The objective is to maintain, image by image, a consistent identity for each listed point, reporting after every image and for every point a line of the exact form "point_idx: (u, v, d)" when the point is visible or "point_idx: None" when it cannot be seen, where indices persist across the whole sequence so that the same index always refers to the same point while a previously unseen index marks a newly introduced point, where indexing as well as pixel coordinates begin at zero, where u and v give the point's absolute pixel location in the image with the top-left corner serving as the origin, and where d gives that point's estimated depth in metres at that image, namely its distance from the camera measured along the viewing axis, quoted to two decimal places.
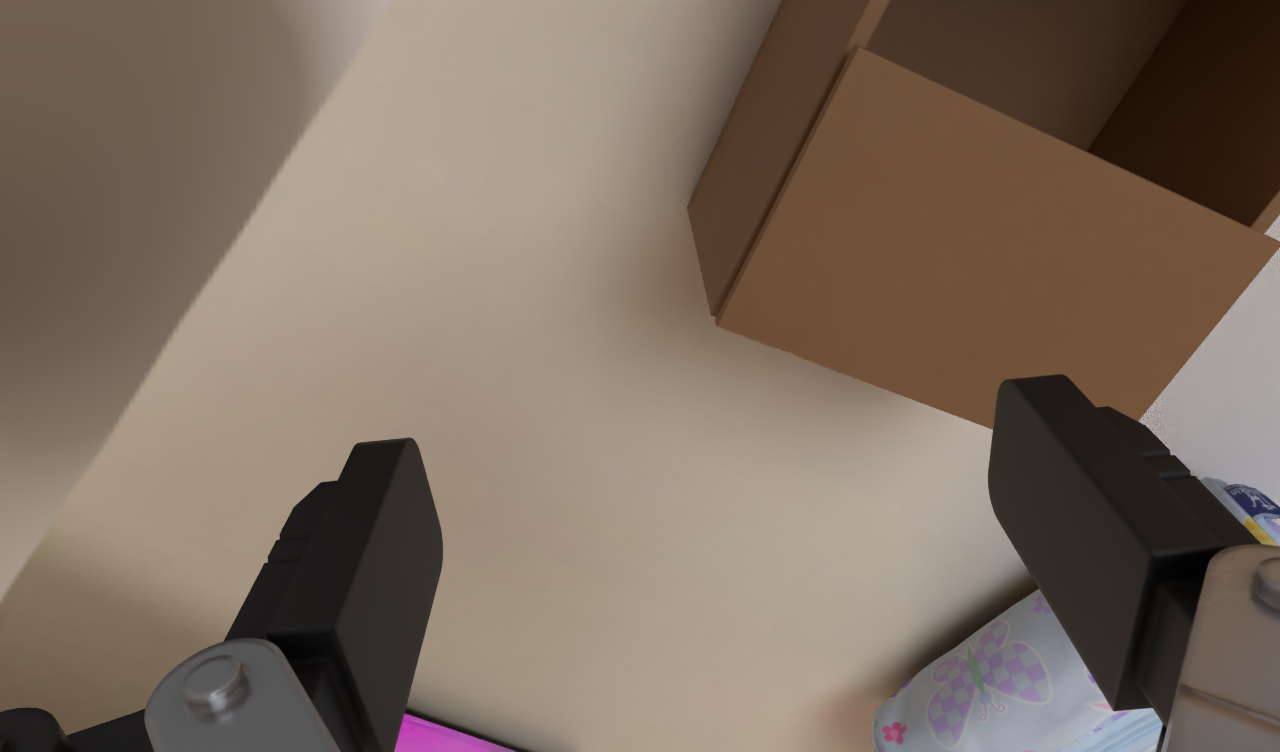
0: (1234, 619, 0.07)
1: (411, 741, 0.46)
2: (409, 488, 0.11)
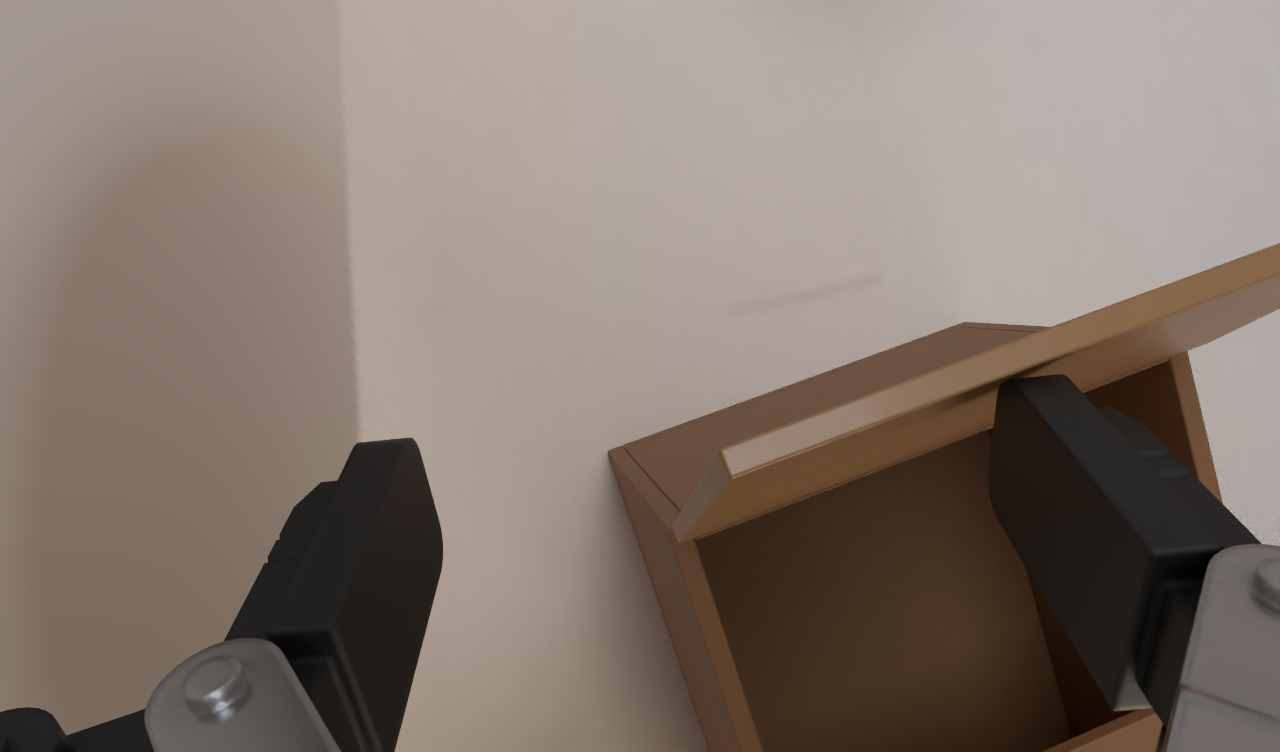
0: (1234, 619, 0.07)
1: None
2: (409, 488, 0.11)
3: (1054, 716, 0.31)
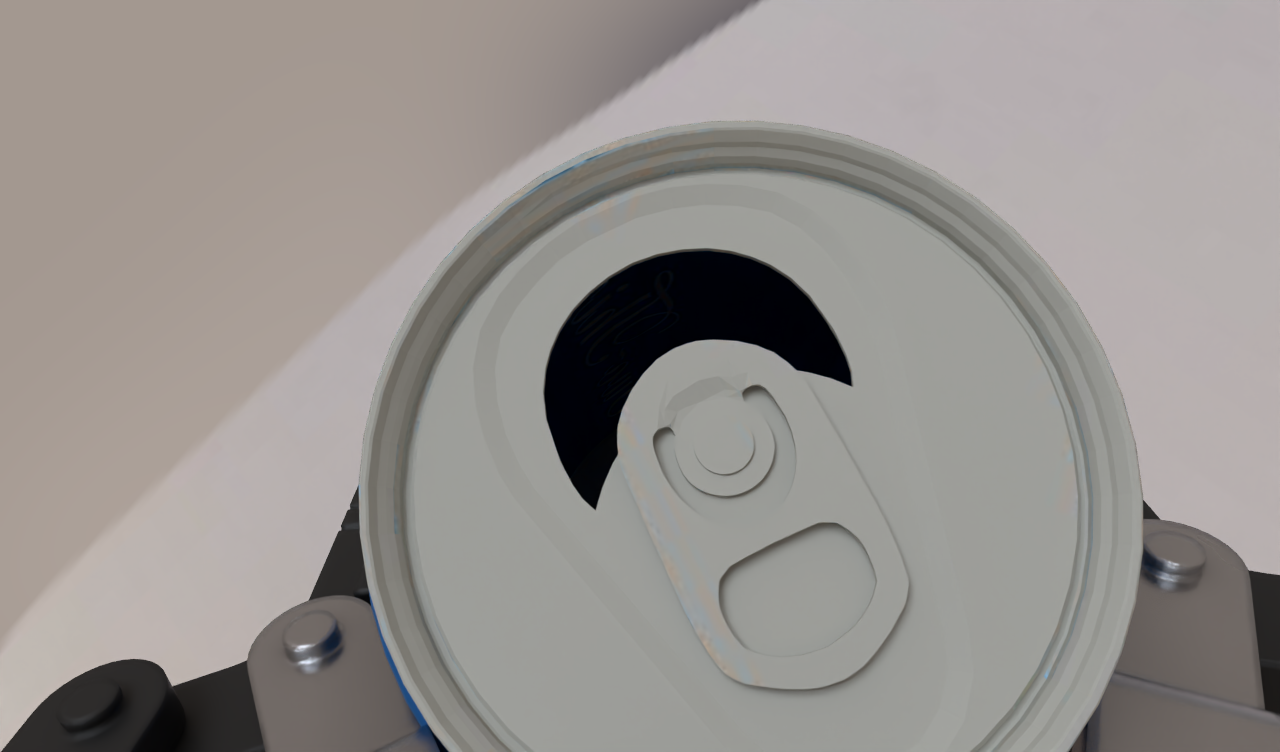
0: None
1: None
2: None
3: None
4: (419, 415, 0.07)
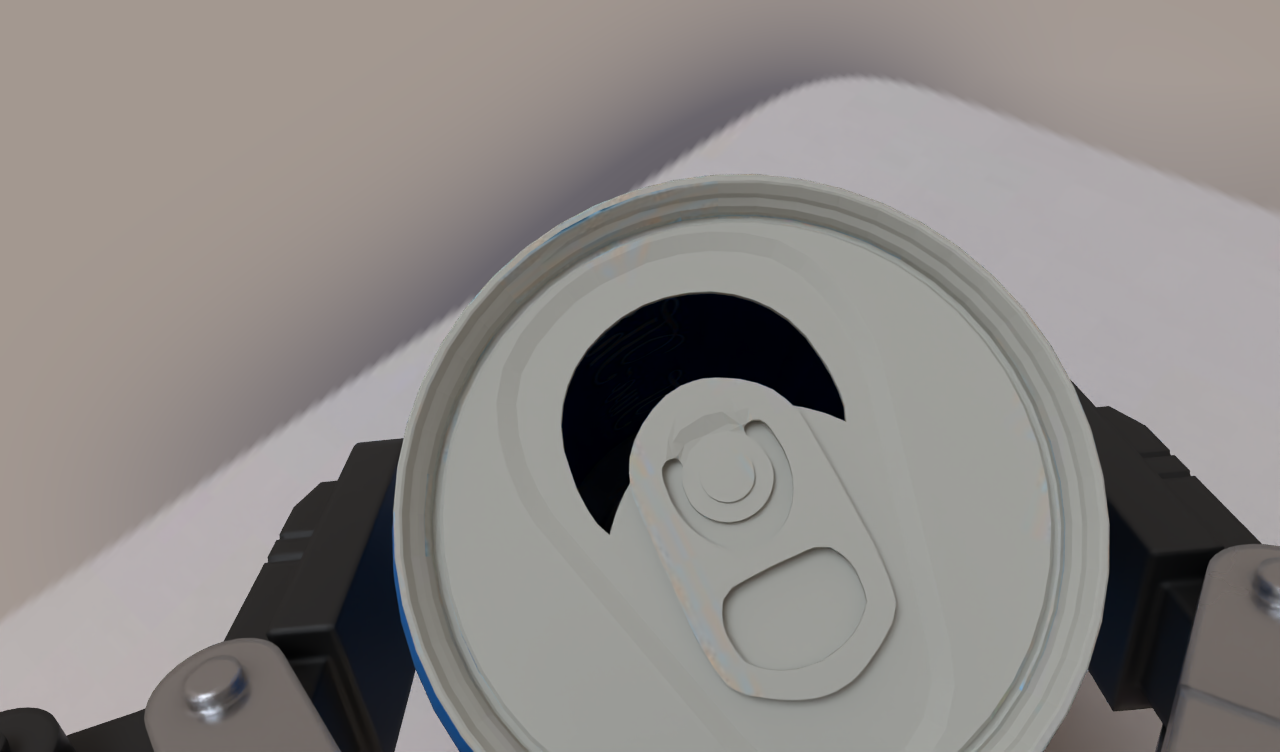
0: (1234, 619, 0.07)
1: None
2: None
3: None
4: (446, 446, 0.07)
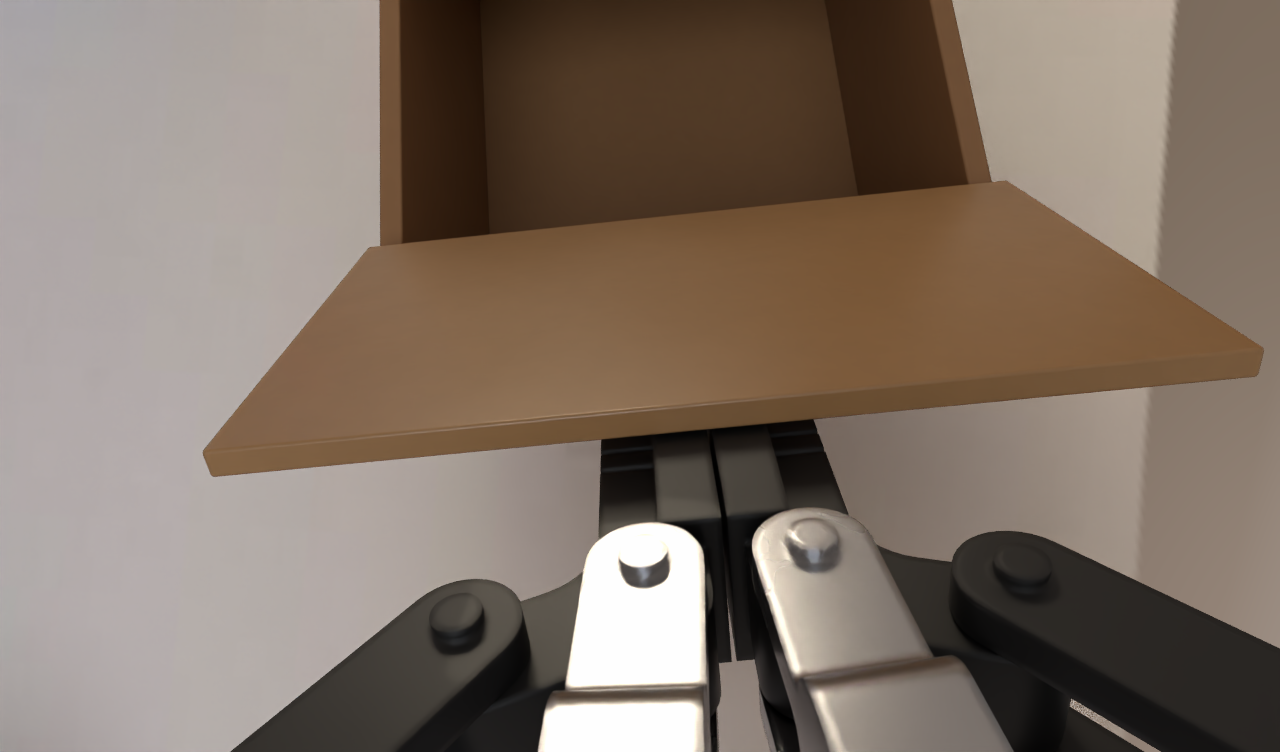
0: (794, 591, 0.08)
1: None
2: None
3: None
4: None
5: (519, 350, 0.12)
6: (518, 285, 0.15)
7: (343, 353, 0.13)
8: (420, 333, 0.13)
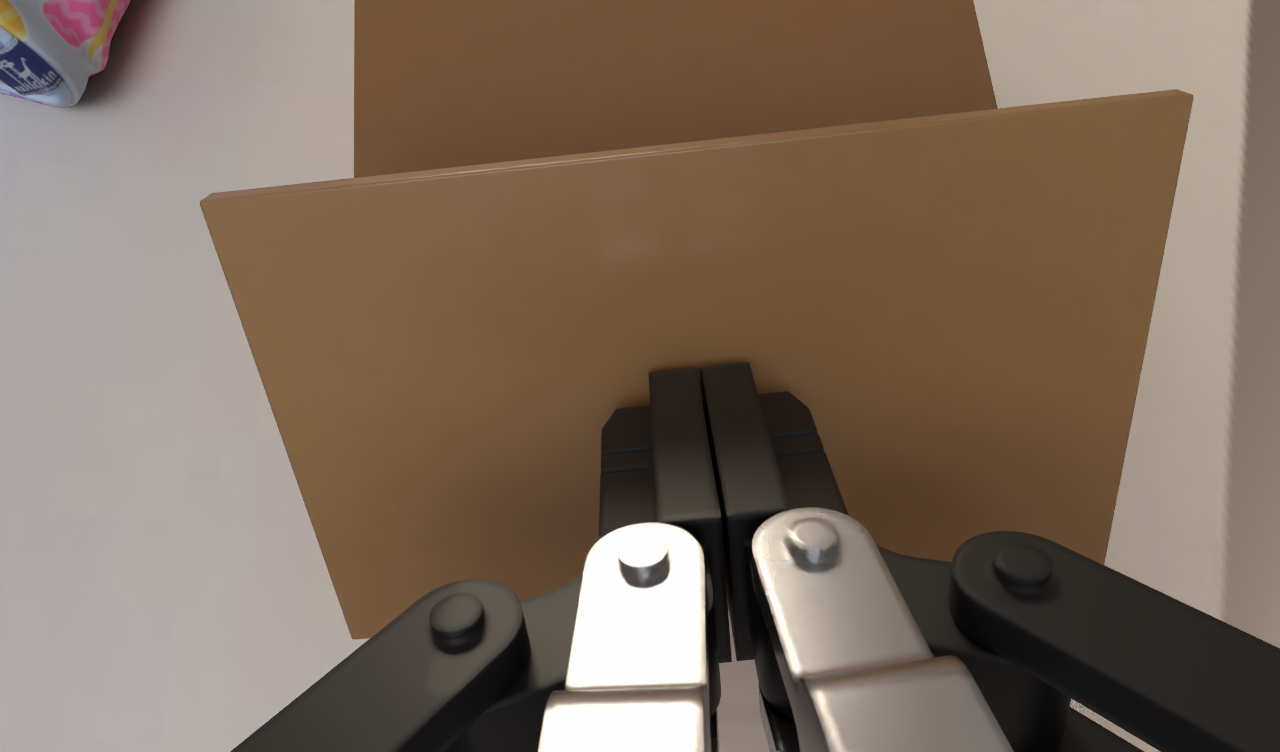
0: (794, 591, 0.08)
1: None
2: None
3: None
4: None
5: None
6: None
7: None
8: None
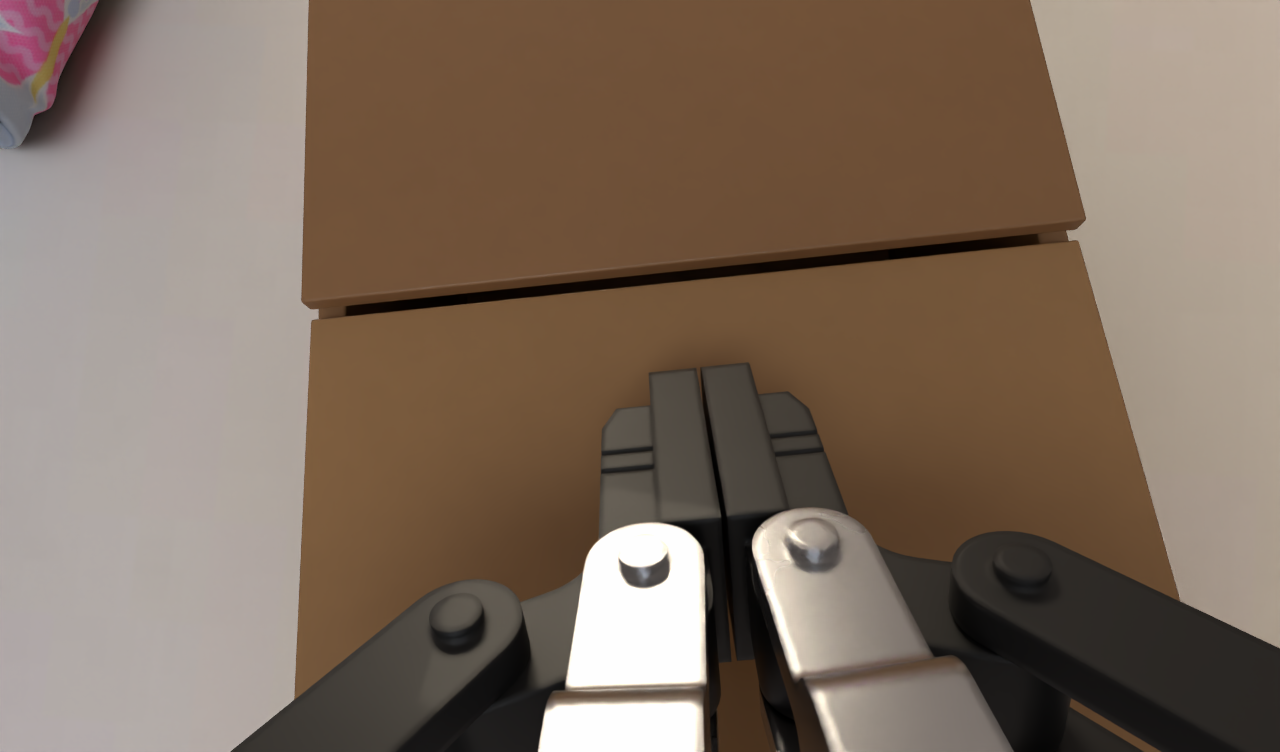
0: (794, 591, 0.08)
1: None
2: None
3: None
4: None
5: None
6: None
7: None
8: None
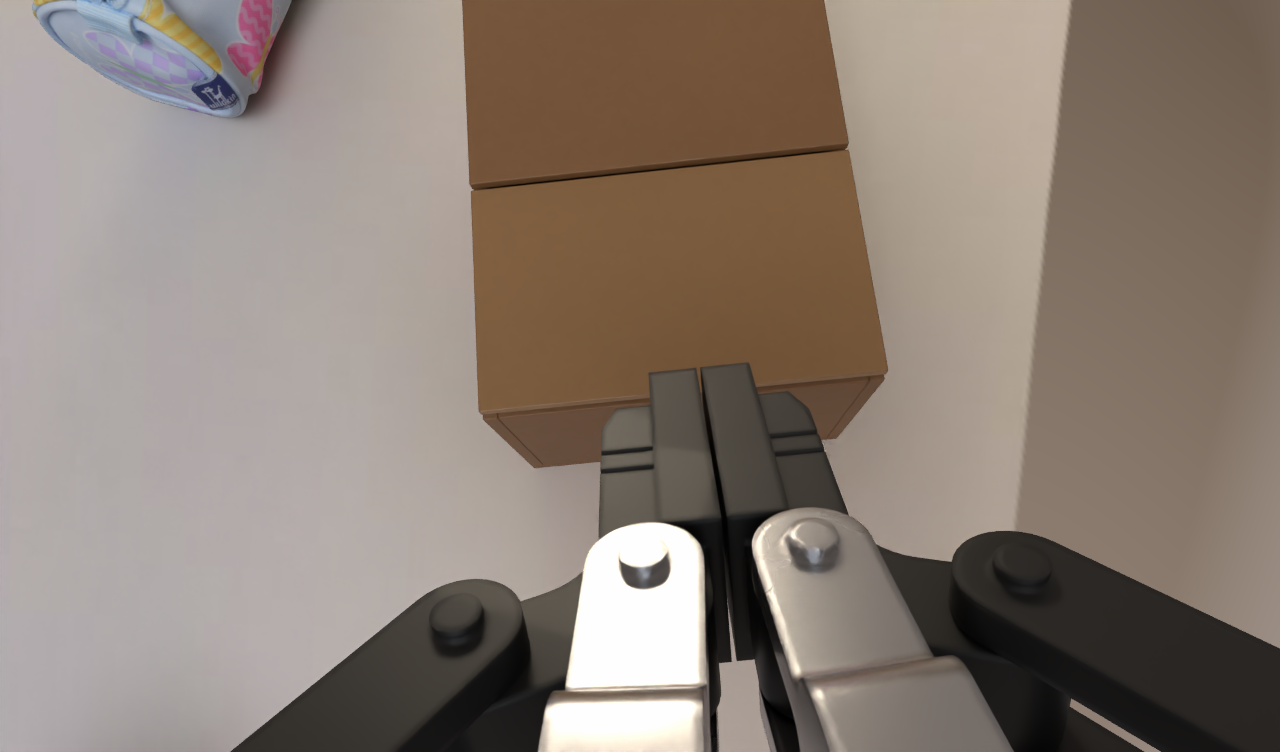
0: (794, 591, 0.08)
1: None
2: None
3: None
4: None
5: None
6: None
7: None
8: None
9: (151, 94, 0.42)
